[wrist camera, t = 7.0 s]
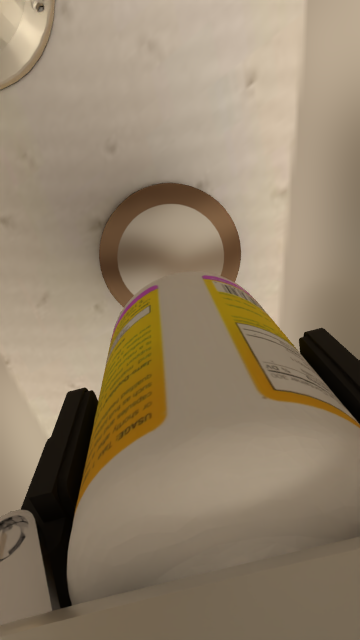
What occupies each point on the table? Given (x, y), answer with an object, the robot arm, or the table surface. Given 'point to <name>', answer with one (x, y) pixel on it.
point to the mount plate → (166, 239)
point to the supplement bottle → (207, 445)
